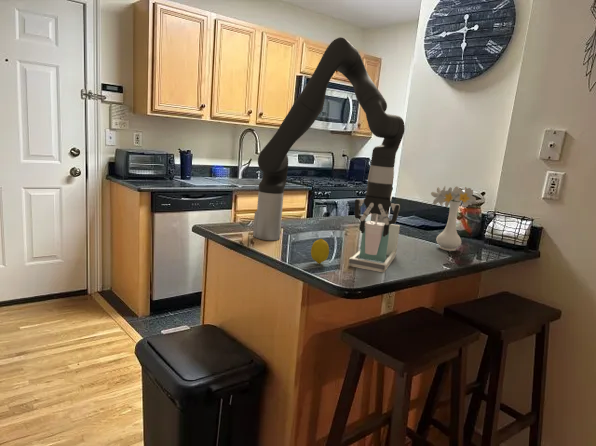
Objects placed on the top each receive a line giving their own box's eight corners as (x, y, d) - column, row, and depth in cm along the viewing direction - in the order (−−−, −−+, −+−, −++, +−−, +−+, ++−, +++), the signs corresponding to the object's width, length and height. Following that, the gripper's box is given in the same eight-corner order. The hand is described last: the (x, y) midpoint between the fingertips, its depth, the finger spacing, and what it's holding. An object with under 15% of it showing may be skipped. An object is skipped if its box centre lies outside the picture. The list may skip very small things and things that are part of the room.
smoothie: (368, 256, 131) (374, 211, 128) (356, 250, 136) (362, 207, 134) (385, 255, 134) (391, 211, 131) (372, 250, 139) (378, 207, 137)
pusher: (359, 257, 139) (362, 227, 138) (359, 256, 140) (363, 227, 138) (384, 262, 137) (389, 231, 135) (385, 261, 137) (389, 231, 136)
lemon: (322, 267, 128) (324, 241, 127) (306, 263, 131) (308, 238, 129) (330, 264, 133) (333, 239, 131) (315, 260, 136) (317, 235, 134)
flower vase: (435, 241, 180) (444, 182, 175) (475, 253, 165) (487, 189, 161) (415, 244, 172) (425, 182, 167) (456, 256, 158) (468, 189, 153)
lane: (348, 266, 132) (352, 231, 130) (364, 250, 154) (368, 220, 152) (383, 272, 129) (388, 237, 126) (395, 256, 150) (399, 225, 148)
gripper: (405, 183, 132) (398, 236, 135) (360, 177, 137) (353, 228, 140) (402, 184, 125) (394, 240, 128) (354, 179, 130) (348, 232, 133)
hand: (373, 234), depth 134 cm, fingers closed on smoothie, 6 cm apart
